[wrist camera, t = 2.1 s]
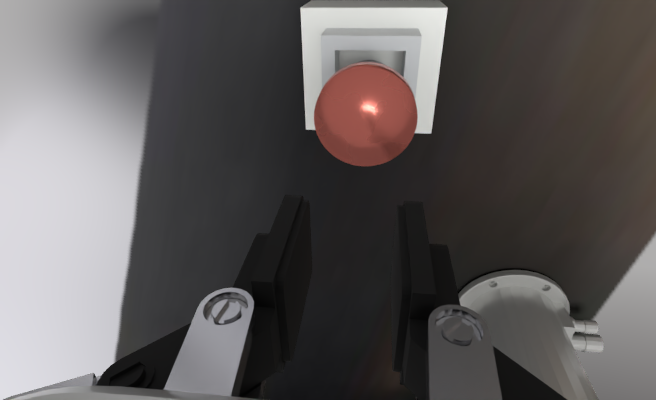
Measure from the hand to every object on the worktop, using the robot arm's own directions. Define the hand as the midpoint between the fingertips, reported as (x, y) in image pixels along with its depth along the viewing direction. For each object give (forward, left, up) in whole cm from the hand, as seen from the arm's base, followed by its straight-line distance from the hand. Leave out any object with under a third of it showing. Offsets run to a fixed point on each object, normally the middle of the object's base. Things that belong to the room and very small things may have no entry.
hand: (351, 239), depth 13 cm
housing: (0, 0, -25) cm, 25 cm away
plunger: (0, 0, -17) cm, 17 cm away
